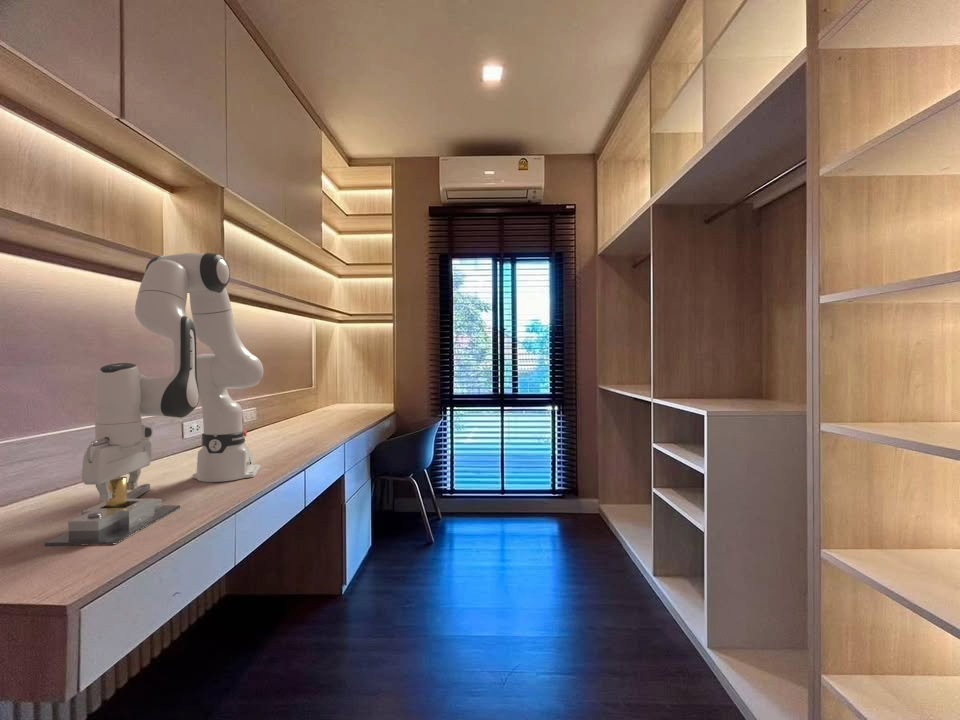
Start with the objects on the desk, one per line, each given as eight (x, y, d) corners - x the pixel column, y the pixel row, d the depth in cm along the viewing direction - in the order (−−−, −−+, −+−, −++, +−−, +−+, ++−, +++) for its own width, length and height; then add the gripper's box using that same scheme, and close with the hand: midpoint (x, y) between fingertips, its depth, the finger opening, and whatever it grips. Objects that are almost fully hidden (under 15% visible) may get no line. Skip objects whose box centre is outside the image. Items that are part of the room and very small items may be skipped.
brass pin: (111, 519, 124) (110, 477, 124) (130, 518, 125) (130, 476, 125) (102, 525, 120) (102, 481, 120) (122, 524, 121) (122, 480, 121)
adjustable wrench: (141, 490, 154) (140, 483, 154) (165, 486, 155) (165, 480, 155) (96, 514, 129) (95, 506, 129) (125, 510, 131) (125, 502, 131)
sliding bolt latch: (123, 508, 135) (122, 488, 135) (180, 507, 136) (179, 488, 136) (44, 545, 109) (44, 521, 109) (115, 544, 110) (115, 520, 110)
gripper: (103, 442, 112) (104, 507, 112) (157, 428, 132) (157, 483, 133) (72, 442, 112) (73, 508, 112) (131, 428, 132) (131, 483, 132)
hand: (119, 494), depth 122 cm, fingers open, 8 cm apart
